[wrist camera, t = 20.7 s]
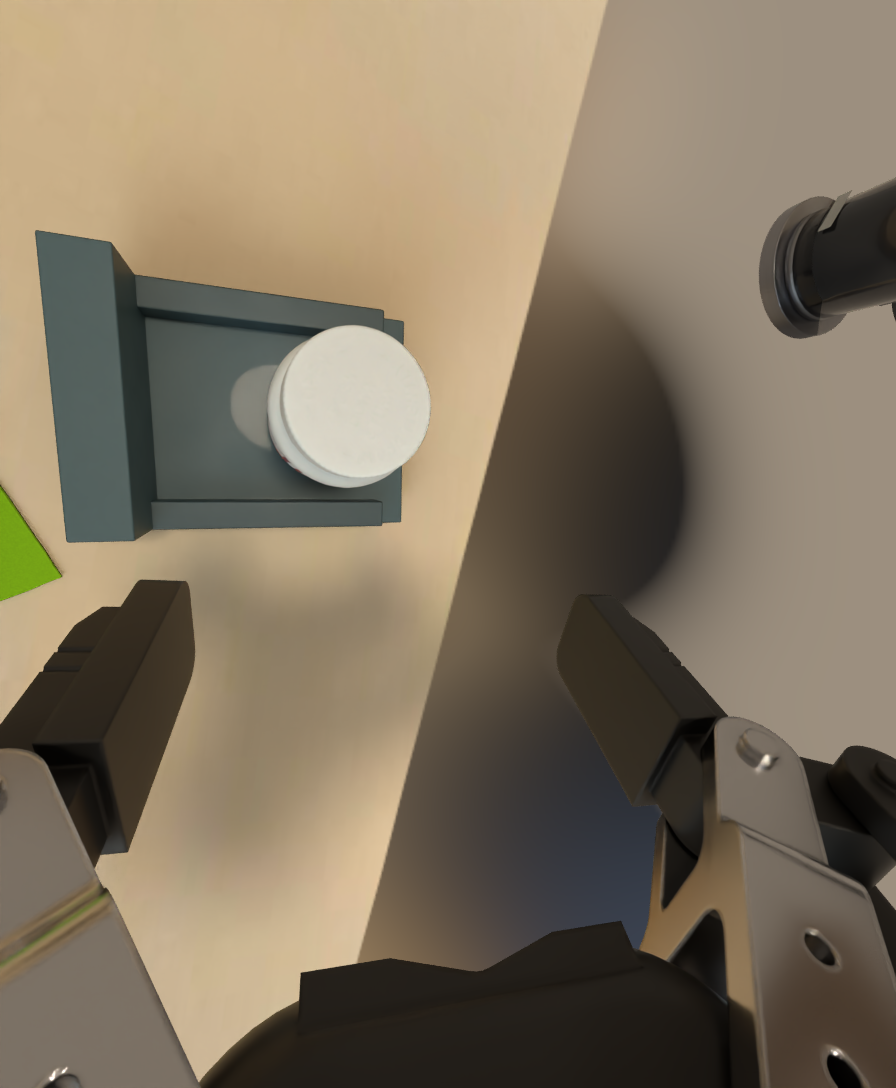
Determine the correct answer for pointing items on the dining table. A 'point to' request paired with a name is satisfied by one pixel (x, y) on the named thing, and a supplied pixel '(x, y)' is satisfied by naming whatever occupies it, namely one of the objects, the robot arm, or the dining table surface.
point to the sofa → (181, 401)
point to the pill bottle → (348, 406)
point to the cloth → (20, 554)
